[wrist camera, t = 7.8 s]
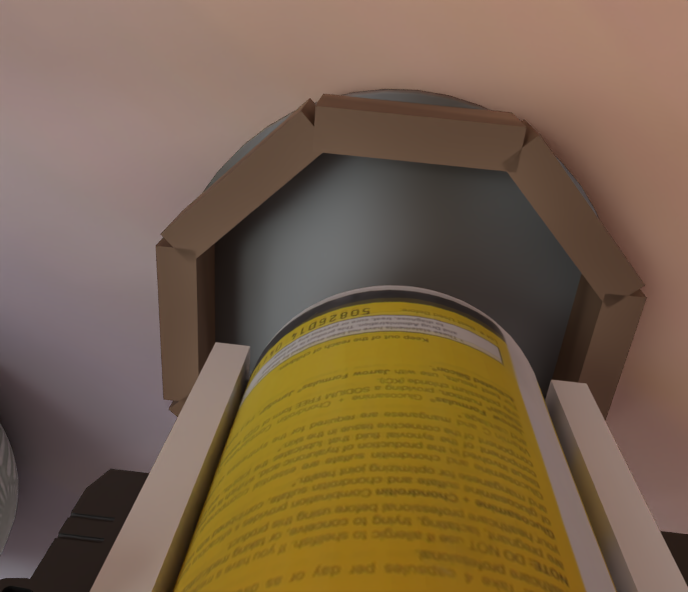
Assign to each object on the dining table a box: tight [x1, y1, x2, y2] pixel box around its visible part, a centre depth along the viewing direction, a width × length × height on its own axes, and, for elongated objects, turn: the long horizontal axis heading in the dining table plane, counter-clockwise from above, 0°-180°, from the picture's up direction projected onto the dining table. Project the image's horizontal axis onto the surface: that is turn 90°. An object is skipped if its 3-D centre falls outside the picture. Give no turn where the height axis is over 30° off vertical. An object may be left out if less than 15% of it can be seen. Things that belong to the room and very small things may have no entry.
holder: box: [156, 89, 647, 420], centre depth 17 cm, size 12×12×3 cm
